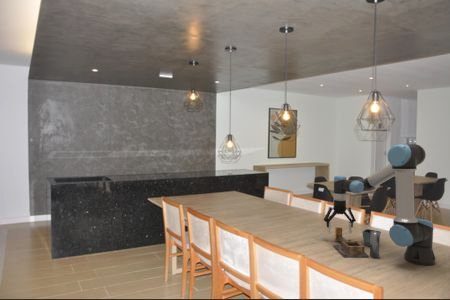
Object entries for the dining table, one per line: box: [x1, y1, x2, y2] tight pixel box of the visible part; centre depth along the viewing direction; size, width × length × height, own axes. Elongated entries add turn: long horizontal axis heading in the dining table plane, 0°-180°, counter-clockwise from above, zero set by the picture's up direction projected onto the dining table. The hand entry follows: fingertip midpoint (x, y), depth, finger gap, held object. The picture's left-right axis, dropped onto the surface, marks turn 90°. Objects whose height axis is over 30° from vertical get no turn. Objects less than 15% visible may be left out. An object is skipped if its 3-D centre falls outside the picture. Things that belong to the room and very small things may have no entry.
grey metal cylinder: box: [369, 230, 381, 259], centre depth 193 cm, size 5×5×14 cm
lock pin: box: [334, 226, 351, 246], centre depth 212 cm, size 4×20×9 cm, turn 1°
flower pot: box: [362, 228, 382, 247], centre depth 213 cm, size 9×9×9 cm
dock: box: [332, 238, 370, 259], centre depth 201 cm, size 14×19×6 cm
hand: (339, 232), depth 220 cm, fingers open, 13 cm apart
